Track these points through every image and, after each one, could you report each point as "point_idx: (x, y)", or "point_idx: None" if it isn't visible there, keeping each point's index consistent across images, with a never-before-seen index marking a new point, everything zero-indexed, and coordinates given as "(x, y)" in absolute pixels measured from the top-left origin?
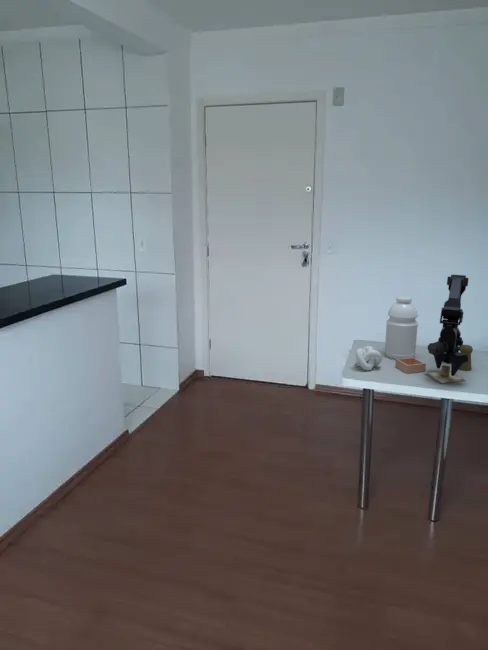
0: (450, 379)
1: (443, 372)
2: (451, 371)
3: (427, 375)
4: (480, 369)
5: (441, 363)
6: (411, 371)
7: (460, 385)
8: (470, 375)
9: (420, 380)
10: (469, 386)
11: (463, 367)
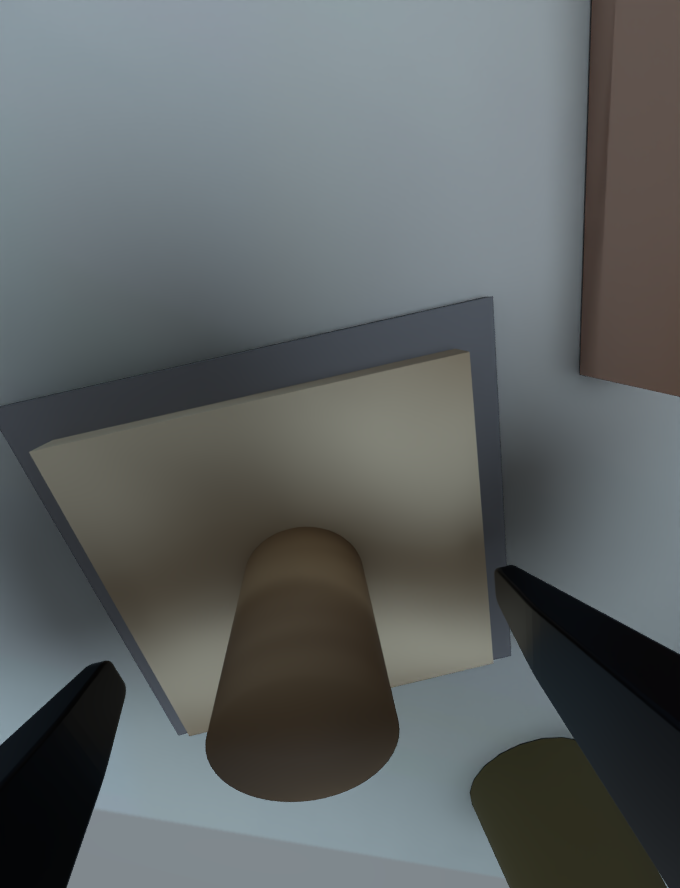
0: (139, 596)
1: (257, 591)
2: (20, 750)
3: (421, 339)
4: (499, 867)
5: (558, 710)
6: (642, 2)
7: (50, 639)
8: (376, 788)
9: (220, 87)
10: (33, 710)
11: (514, 820)
